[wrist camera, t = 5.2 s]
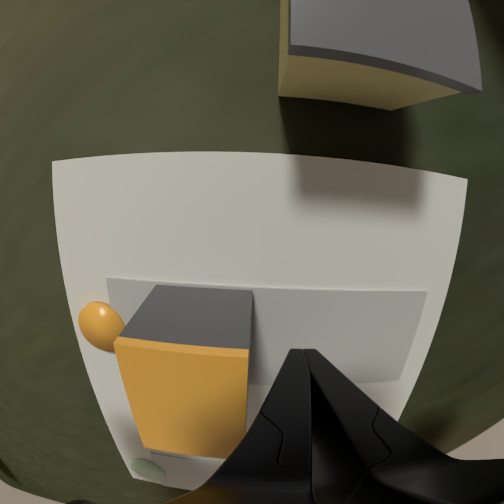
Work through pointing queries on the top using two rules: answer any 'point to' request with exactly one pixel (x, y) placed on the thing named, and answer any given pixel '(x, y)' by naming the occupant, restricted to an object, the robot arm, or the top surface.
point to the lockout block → (377, 51)
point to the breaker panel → (258, 267)
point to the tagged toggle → (188, 369)
